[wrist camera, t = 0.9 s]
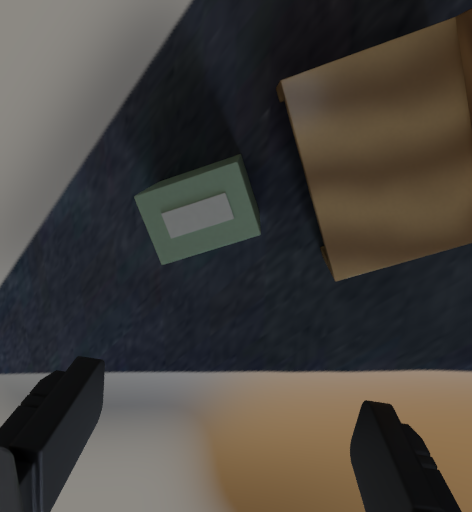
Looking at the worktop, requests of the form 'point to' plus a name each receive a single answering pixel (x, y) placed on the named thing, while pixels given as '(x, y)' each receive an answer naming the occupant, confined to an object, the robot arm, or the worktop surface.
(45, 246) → the worktop surface
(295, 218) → the worktop surface
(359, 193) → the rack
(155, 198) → the tissue box
